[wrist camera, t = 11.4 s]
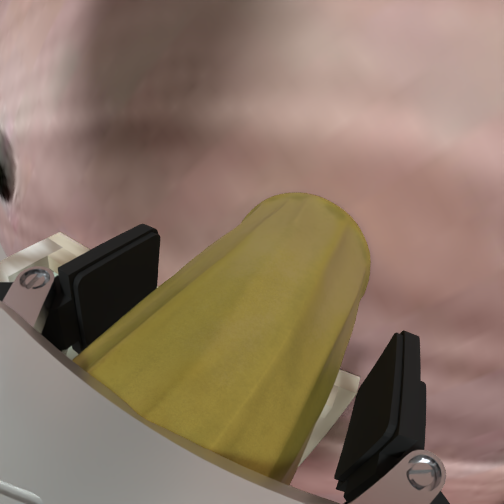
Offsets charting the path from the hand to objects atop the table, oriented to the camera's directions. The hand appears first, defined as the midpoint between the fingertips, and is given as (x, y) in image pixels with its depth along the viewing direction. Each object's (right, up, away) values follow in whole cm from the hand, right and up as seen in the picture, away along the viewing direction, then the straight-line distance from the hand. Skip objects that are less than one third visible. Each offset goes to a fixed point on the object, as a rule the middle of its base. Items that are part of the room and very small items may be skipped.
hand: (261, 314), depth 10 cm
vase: (+2, +2, +4) cm, 5 cm away
